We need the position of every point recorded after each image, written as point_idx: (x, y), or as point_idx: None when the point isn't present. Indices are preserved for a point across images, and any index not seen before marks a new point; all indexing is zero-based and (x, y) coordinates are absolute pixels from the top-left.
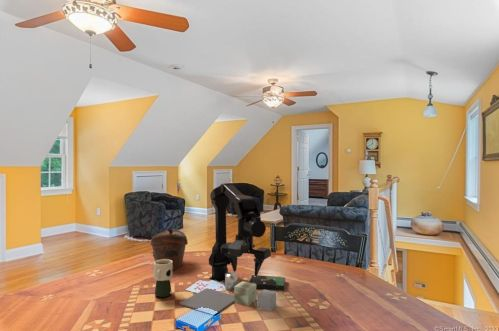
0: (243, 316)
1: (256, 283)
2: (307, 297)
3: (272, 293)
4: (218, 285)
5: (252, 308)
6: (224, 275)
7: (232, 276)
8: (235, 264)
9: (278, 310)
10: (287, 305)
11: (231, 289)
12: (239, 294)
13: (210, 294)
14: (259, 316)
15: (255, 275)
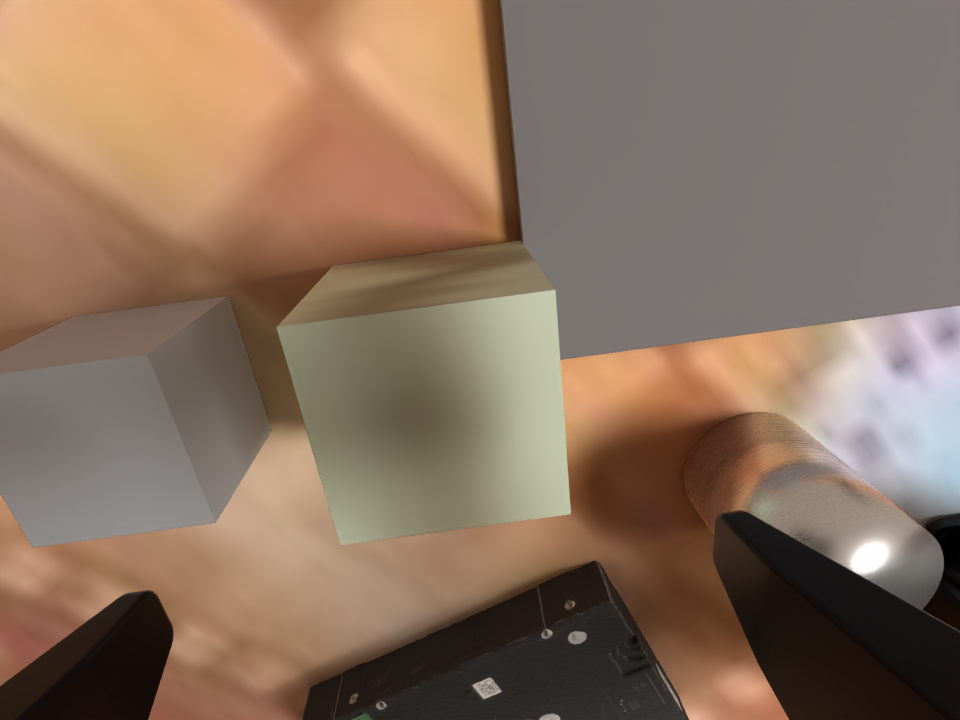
0: (169, 2)
1: (543, 643)
2: None
3: (25, 491)
4: (910, 448)
5: (255, 251)
6: (952, 598)
7: None
8: (821, 700)
9: None
10: None
11: (720, 438)
12: (449, 277)
13: (874, 191)
14: (42, 139)
15: (122, 599)
